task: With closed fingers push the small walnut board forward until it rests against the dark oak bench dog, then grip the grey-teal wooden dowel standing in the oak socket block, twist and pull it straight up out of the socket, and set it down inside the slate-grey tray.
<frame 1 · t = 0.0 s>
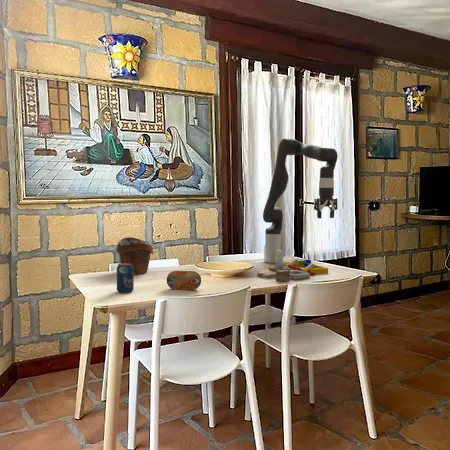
hand: (325, 218, 237), 29 cm above the table, tool pointing down, fingers open, 8 cm apart
soda can: (125, 292, 192), on the table
tin: (184, 290, 198), on the table
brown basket: (135, 273, 237), on the table
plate: (268, 277, 229), on the table
tray: (295, 277, 228), on the table
dowel: (279, 262, 239), in the socket block
socket block: (279, 273, 239), on the table
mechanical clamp: (309, 271, 249), on the table
bench dog: (282, 280, 219), on the table
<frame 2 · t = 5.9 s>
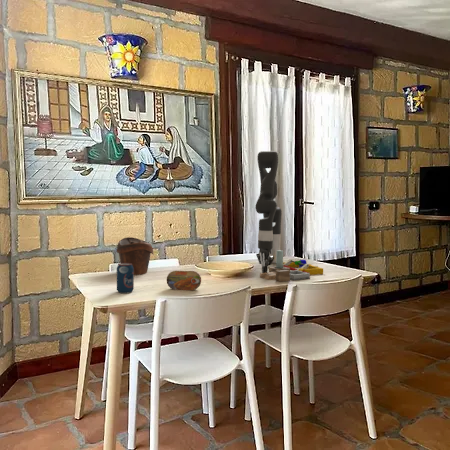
hand: (264, 273, 231), 1 cm above the table, tool pointing down, fingers closed
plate: (271, 278, 227), on the table, touching gripper
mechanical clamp: (304, 272, 248), on the table
everything else where it was.
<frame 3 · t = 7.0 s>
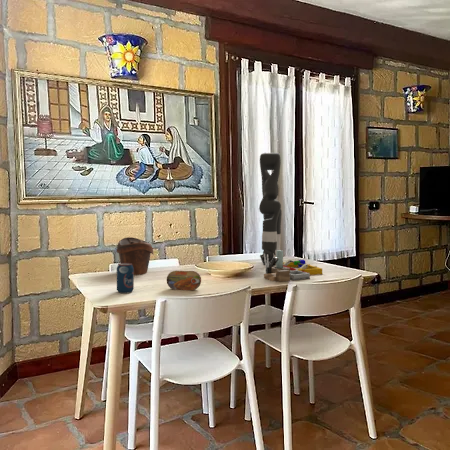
hand: (268, 274, 229), 1 cm above the table, tool pointing down, fingers closed
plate: (275, 279, 224), on the table
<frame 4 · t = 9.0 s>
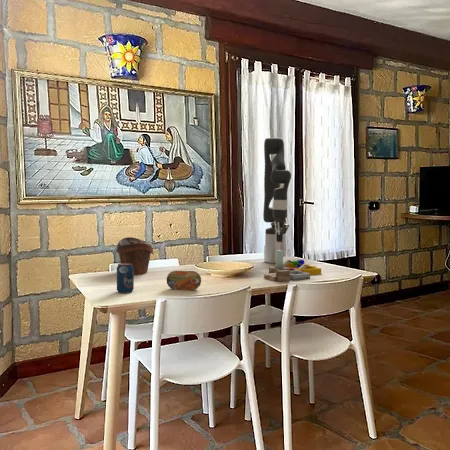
hand: (279, 241, 238), 17 cm above the table, tool pointing down, fingers closed
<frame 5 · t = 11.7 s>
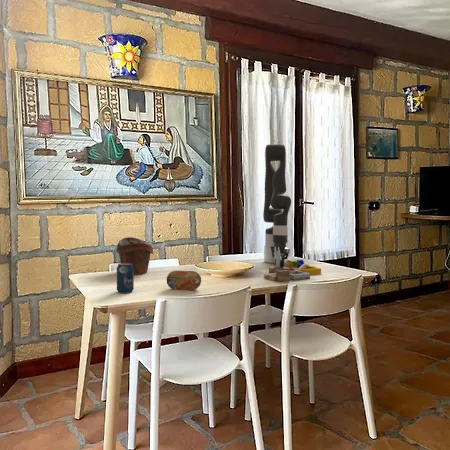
hand: (279, 266, 239), 4 cm above the table, tool pointing down, fingers closed on dowel, 3 cm apart
dowel: (279, 262, 239), in the socket block, touching gripper
when the fingers open (6 cm above the table, at t = 17.3 s): dowel drops 1 cm, resting on tray.
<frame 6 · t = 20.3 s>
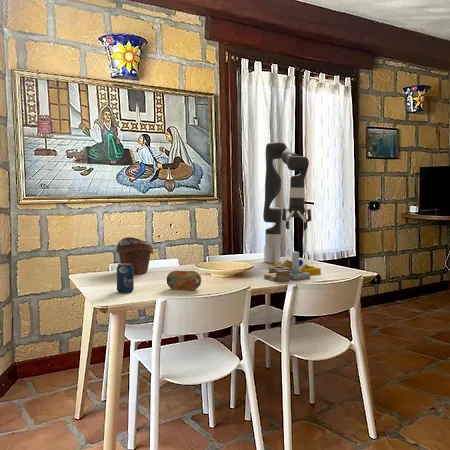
hand: (296, 229, 226), 24 cm above the table, tool pointing down, fingers open, 8 cm apart
dowel: (295, 264, 228), in the tray, point 7 cm above the table
at the end: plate 0.3 cm from the target spot, on the table; dowel inside the target area on the tray (0.1 cm from its centre), point 6.8 cm above the tray's base; the gripper is holding nothing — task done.
